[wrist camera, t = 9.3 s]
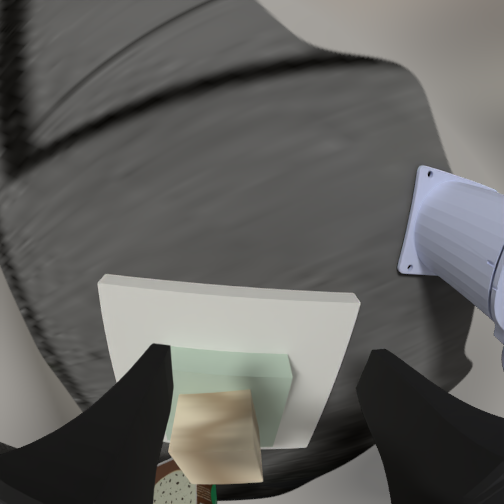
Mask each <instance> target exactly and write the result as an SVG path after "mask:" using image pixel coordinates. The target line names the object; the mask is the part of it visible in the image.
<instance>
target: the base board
mask: <svg viewBox="0 0 504 504" xmlns="http://www.w3.org/2000/svg"><path fill="white" fill-rule="evenodd" d="M98 291H99V298H100V304H101V311H102V317H103V322H104V328H105V333H106V338H107V343H108V348H109V353H110V357H111V361H112V366H113V370H114V374H115V378H116V382H118V381H119V380H120V379H121V378H122V377H123V376H124V375H125V374H126V373H127V372H128V370H129V369H130V368H131V367H132V366H133V365H134V364H135V363H136V362H137V360H138V359H139V358H140V357H141V356H142V355H143V353H144V352H145V351H146V350H147V349H148V347H149V346H150V345H151V344H153V343H155V344H164V345H170V346H171V360H172V372H173V383H174V389H173V397H172V405H171V412H170V416H169V420H168V424H167V428H166V432H165V436H164V440H163V442H169V443H170V439H171V434H172V428H173V423H174V417H175V412H176V407H177V401H178V396H179V394H198V393H214V392H227V391H238V390H248V389H251V394H252V399H253V404H254V408H255V413H256V418H257V422H258V427H259V436H260V448H261V449H287V448H305V447H307V445H308V443H309V441H310V439H311V437H312V435H313V432H314V430H315V428H316V426H317V423H318V421H319V419H320V416H321V414H322V412H323V409H324V407H325V404H326V402H327V400H328V397H329V395H330V392H331V390H332V387H333V384H334V382H335V379H336V376H337V374H338V371H339V368H340V366H341V363H342V360H343V357H344V354H345V351H346V348H347V345H348V342H349V339H350V336H351V333H352V330H353V327H354V324H355V321H356V317H357V314H358V311H359V307H360V304H361V303H360V301H359V300H358V298H357V297H356V296H355V294H354V293H341V292H319V291H300V290H283V289H267V288H252V287H239V286H225V285H213V284H201V283H190V282H179V281H168V280H158V279H148V278H138V277H129V276H120V275H111V274H105V275H104V276H103V277H102V278H101V280H100V281H99V282H98Z"/></svg>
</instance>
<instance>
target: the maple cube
mask: <svg viewBox="0 0 504 504" xmlns="http://www.w3.org/2000/svg"><path fill="white" fill-rule="evenodd" d="M168 452H169V454H170V455H171V456H172V458H173V459H174V461H175V462H176V463H177V465H178V466H179V468H180V469H181V470H182V472H183V473H184V474H185V476H186V477H187V478H188V480H189V481H190V482H191V484H239V483H253V482H263V473H262V461H261V448H260V436H259V427H258V422H257V418H256V413H255V408H254V404H253V399H252V394H251V389H248V390H238V391H227V392H214V393H198V394H179V396H178V401H177V407H176V412H175V417H174V423H173V428H172V434H171V439H170V445H169V451H168Z"/></svg>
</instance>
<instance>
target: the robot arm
mask: <svg viewBox="0 0 504 504" xmlns="http://www.w3.org/2000/svg"><path fill="white" fill-rule="evenodd" d="M428 172H430V176H429V177H428ZM409 265H410V268H409V269H407V268H408V266H409ZM397 268H398V271H399V272H401V273H403V274H418V275H435V276H439V277H440V278H442V279H443V280H444V281H446V282H447V283H448V284H449V285H451V286H452V287H453V288H454V289H456V290H457V291H458V292H459V293H461V294H462V295H463V296H464V297H465V298H467V299H468V300H469V301H470V302H471V303H473V304H474V305H475V306H476V307H478V308H479V309H480V310H481V311H482V312H483V313H485V314H486V315H487V316H488V317H489V318H490V319H491V320H493V321H494V323H495V330H494V336H495V337H496V338H497V339H498V340H499V341H500V342H501V343H503V345H504V195H503V194H500V193H497V190H495V189H492V188H490V187H487V186H485V185H482V184H479V183H477V182H474V181H471V180H468V179H465V178H462V177H460V176H457V175H453V174H450V173H447V172H444V171H441V170H438V169H434V168H431V167H428V166H419V168H418V170H417V175H416V182H415V188H414V194H413V199H412V205H411V210H410V215H409V220H408V224H407V229H406V233H405V238H404V242H403V246H402V250H401V254H400V258H399V262H398V266H397ZM502 367H503V370H504V347H503V351H502ZM173 389H174V383H173V372H172V360H171V346H170V345H164V344H155V343H153V344H151V345H150V346H149V347H148V349H147V350H146V351H145V352H144V353H143V355H142V356H141V357H140V358H139V359H138V360H137V362H136V363H135V364H134V365H133V366H132V367H131V368H130V369H129V370H128V372H127V373H126V374H125V375H124V376H123V377H122V378H121V379H120V380H119V381H118V382H117V383H116V384H115V385H114V386H113V387H112V388H111V389H110V390H109V391H108V392H106V393H105V394H104V395H103V396H102V397H101V398H100V399H99V400H98V401H97V402H95V403H94V404H93V405H92V406H91V407H89V408H88V409H87V410H85V411H84V412H83V413H81V414H80V415H79V416H77V417H76V418H75V419H73V420H71V421H70V422H68V423H67V424H65V425H64V426H62V427H61V428H59V429H57V430H56V431H54V432H52V433H50V434H48V435H46V436H44V437H42V438H41V439H39V440H36V441H35V442H32V443H30V444H28V445H26V446H23V447H21V448H18V449H15V450H12V451H9V452H6V453H3V454H0V504H153V499H154V488H155V478H156V470H157V465H158V460H159V456H160V452H161V448H162V444H163V440H164V436H165V432H166V428H167V424H168V420H169V416H170V412H171V405H172V397H173ZM356 390H357V394H358V398H359V402H360V406H361V410H362V412H363V415H364V417H365V420H366V422H367V425H368V427H369V429H370V432H371V434H372V436H373V439H374V441H375V444H376V446H377V448H378V451H379V453H380V456H381V459H382V462H383V465H384V469H385V473H386V477H387V481H388V486H389V492H390V497H391V503H392V504H504V418H502V417H498V416H495V415H493V414H490V413H487V412H485V411H482V410H480V409H477V408H475V407H473V406H471V405H469V404H467V403H465V402H463V401H461V400H459V399H458V398H456V397H454V396H452V395H451V394H449V393H448V392H446V391H444V390H443V389H441V388H440V387H438V386H437V385H435V384H434V383H432V382H431V381H430V380H428V379H427V378H425V377H424V376H423V375H421V374H420V373H419V372H417V371H416V370H414V369H413V368H412V367H410V366H409V365H408V364H406V363H405V362H404V361H402V360H401V359H400V358H398V357H397V356H395V355H394V354H393V353H391V352H390V351H388V350H386V349H378V350H372V351H371V354H370V356H369V359H368V361H367V364H366V366H365V369H364V371H363V373H362V376H361V378H360V381H359V383H358V385H357V387H356Z"/></svg>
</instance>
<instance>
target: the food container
mask: <svg viewBox="0 0 504 504" xmlns="http://www.w3.org/2000/svg"><path fill="white" fill-rule="evenodd" d="M153 504H217V494H216V484H191V482H190V481H189V480H188V478H187V477H186V476H185V474H184V473H183V472H182V470H181V469H180V468H179V466H178V465H177V463H176V462H175V461H174V459H173V458H170V459H168V460H166V461H164V462H162V463H159V464H158V465H157V470H156V478H155V488H154V499H153Z"/></svg>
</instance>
